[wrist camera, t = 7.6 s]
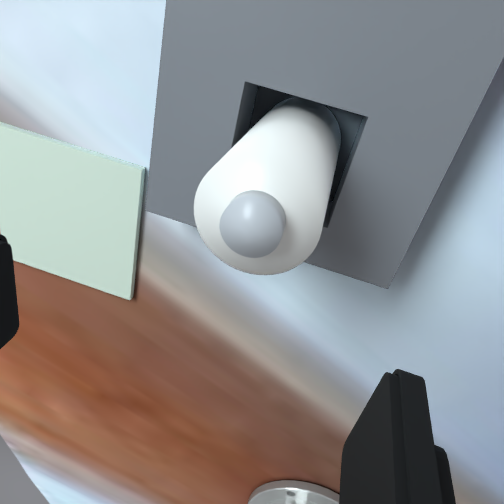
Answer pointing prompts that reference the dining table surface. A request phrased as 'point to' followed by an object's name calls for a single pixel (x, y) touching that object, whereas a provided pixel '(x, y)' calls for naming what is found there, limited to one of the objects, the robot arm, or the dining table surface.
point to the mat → (70, 210)
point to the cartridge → (271, 190)
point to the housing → (329, 93)
